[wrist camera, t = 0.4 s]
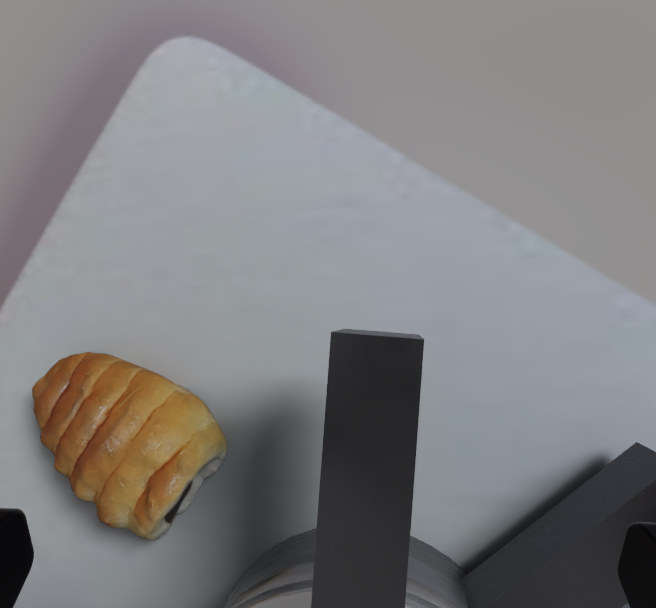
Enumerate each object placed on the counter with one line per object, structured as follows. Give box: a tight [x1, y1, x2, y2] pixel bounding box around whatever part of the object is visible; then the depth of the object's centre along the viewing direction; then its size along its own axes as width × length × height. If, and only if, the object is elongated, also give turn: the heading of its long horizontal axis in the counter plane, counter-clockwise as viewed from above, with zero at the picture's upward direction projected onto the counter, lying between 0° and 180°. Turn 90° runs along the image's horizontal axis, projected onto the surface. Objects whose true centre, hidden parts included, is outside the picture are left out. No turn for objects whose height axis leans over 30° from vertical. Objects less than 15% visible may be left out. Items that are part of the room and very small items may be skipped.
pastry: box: [32, 352, 227, 540], centre depth 23 cm, size 9×7×4 cm
